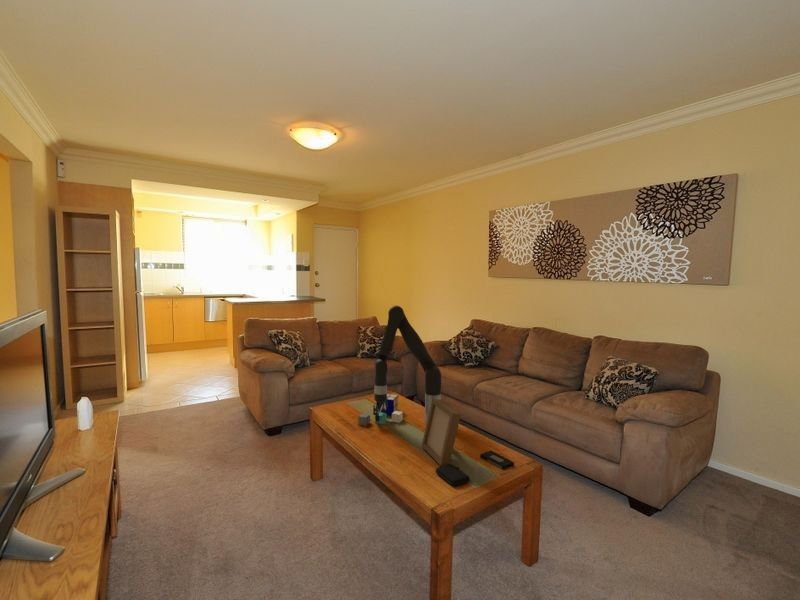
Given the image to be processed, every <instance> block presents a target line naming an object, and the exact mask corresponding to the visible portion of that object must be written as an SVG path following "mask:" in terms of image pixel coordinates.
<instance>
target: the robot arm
mask: <svg viewBox="0 0 800 600" xmlns="http://www.w3.org/2000/svg"><path fill="white" fill-rule="evenodd" d="M398 331H399V332H400V334H401V337H402V339H403V342H404V343H405V345H406V347H407V349H408V350H409V352H410V353H411V354H412V356H413V357H414V358H415V359H416V360H417V361H418V362H419V364H420V366H421V368H422V369H423V372H424V375H425V376H424V379H425V381H424V382H425V383H424V384H425V385H424V422H425V423H426V424H427V420H428V416H429V412H430V407H431V403H432V399H438V400H441V398H442V397H441V396H442V395H441V393H442V372H441V369H440V368H439V367H438V365H437V364H436V363H435V361H434V360H433V359H432V358H431V355H430V354H429V351H428V349H427V348H426V345H425V344H424V342H423V340H422V338H421V337H420V335H419V333H418V332H416V330H415V328H414V327H413V326H412V325H411V323H410V322H409V320H408V318H407V316H406V314H405V311H404V309H403V308H402V307H401V306H399V305H392V306H391V307H390V308H389V310H388V319H387V324H386V328H385V332H384V334H383V336H382V339H381V343H380V346H379V349H378V353H377V354H376V357H375V360H374V367H375V376H374V390H373V393H374V395H373V396H374V399H373V400H374V401H375V404H373V409H372V411H373V413H372V415H373V416H375V417H374V420H375V421H377V422H378V421H379V413H380V412H381V409H382V413H386V411H385V410H386V408H388V404H387V394H388V384H387V382H388V380H387V375H388V358H389V356H391V353H392V349H393V345H394V343H395V338H396V334H397V332H398ZM441 401H442V400H441ZM375 421H374V422H375Z"/></svg>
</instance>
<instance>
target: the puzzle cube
mask: <svg viewBox="0 0 800 600" xmlns="http://www.w3.org/2000/svg"><path fill="white" fill-rule="evenodd" d="M387 404H388V408H386V410H385V411H386V413H387V416H392V413H393V412H394V411H399V395H398V394H389V393H387ZM381 412H382V409H381Z"/></svg>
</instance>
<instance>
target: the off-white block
mask: <svg viewBox="0 0 800 600" xmlns="http://www.w3.org/2000/svg"><path fill="white" fill-rule="evenodd" d="M403 414H404V412H403V411H400V410H398V411H394V412H393V413H392V415H391V422H394V423H399V424H400V423H401V422H402V421H403V419H404V415H403Z"/></svg>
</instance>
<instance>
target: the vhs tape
mask: <svg viewBox="0 0 800 600" xmlns="http://www.w3.org/2000/svg"><path fill="white" fill-rule="evenodd" d="M479 458H480V459H482V460H484V461H486V462H488V463H490V464H491V465H493V466H495V467H497V468H498V469H501V470H506V469H509V468H511V467H513V466H515V462H514V461H512V460H510V459H508V458H507V457H505V456H503V455H500V454H499V453H497V452H495V451H492V450H489V451H485V452H483V453H481V454H480V456H479Z"/></svg>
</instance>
